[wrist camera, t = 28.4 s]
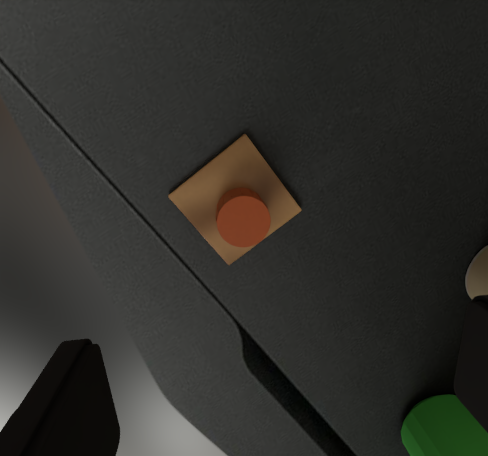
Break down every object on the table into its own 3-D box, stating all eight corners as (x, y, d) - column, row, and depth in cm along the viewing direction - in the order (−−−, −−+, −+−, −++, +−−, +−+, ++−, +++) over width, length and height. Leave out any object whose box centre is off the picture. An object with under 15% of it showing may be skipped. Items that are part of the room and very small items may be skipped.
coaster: (168, 194, 28) (167, 196, 27) (244, 133, 27) (245, 133, 26) (228, 263, 30) (228, 265, 30) (300, 209, 29) (302, 210, 29)
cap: (235, 243, 29) (238, 257, 26) (205, 206, 28) (205, 217, 25) (274, 215, 29) (281, 227, 26) (245, 177, 27) (250, 184, 24)
